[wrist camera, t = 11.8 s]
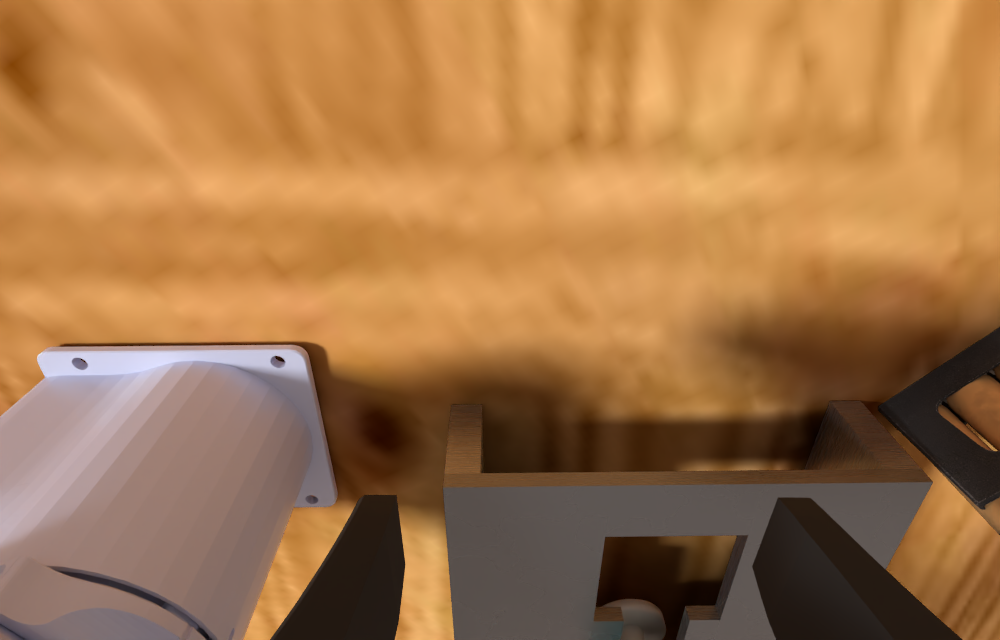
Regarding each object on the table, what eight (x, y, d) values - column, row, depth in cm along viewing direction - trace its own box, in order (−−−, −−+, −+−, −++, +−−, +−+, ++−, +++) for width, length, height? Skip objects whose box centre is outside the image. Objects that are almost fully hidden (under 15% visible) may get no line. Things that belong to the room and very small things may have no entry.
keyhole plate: (468, 698, 33) (465, 786, 29) (450, 404, 22) (442, 487, 18) (739, 695, 33) (770, 781, 30) (860, 401, 22) (932, 482, 18)
